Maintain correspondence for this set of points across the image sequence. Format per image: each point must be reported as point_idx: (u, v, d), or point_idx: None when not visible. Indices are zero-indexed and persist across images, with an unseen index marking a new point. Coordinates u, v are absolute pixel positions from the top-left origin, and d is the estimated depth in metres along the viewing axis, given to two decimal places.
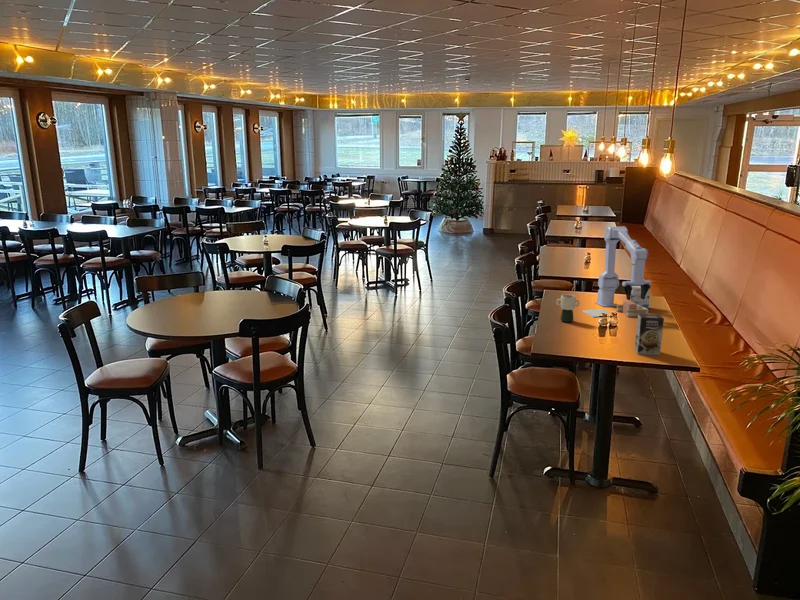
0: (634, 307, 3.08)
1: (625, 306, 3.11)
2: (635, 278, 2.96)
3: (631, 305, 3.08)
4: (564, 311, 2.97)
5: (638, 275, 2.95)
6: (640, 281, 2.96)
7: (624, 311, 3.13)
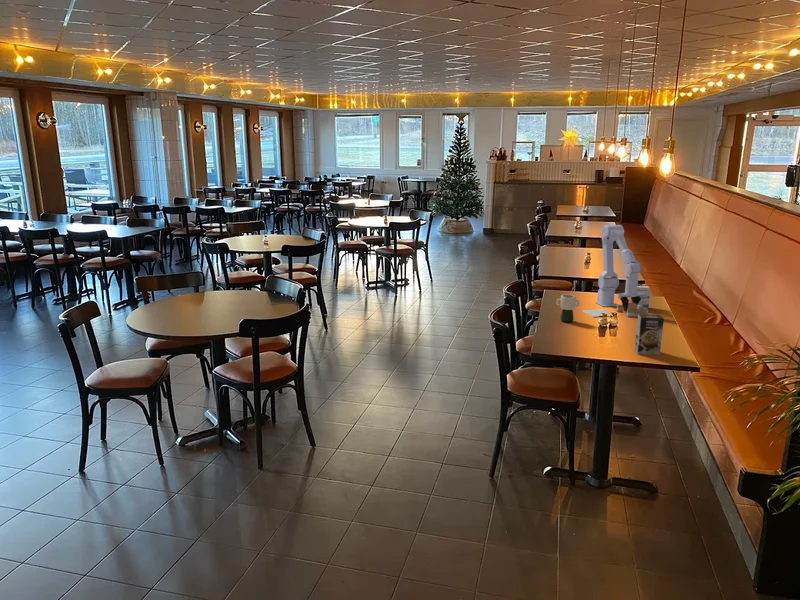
0: (634, 307, 3.08)
1: None
2: (629, 291, 3.07)
3: (631, 305, 3.08)
4: (564, 311, 2.97)
5: (632, 288, 3.06)
6: (634, 293, 3.07)
7: (624, 311, 3.13)
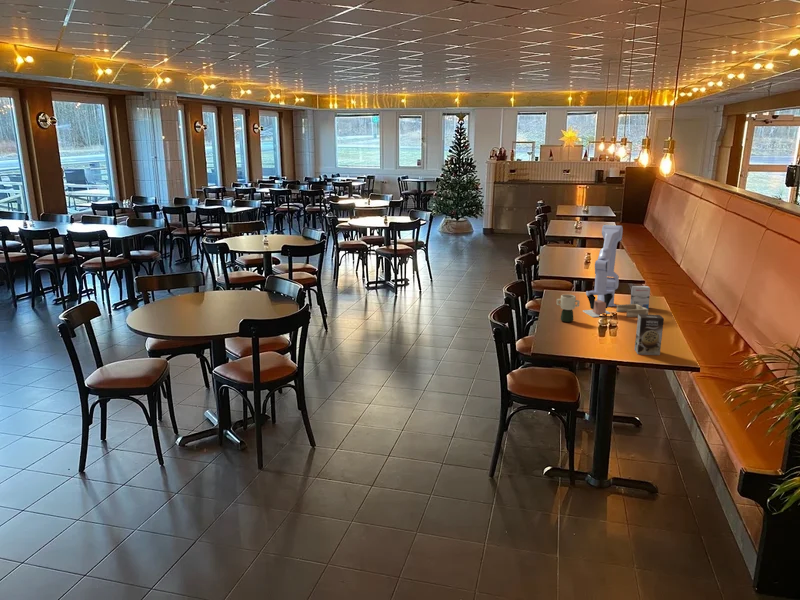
0: (604, 306, 3.08)
1: (595, 305, 3.11)
2: (598, 288, 3.07)
3: (600, 304, 3.08)
4: (564, 311, 2.97)
5: (601, 285, 3.06)
6: (603, 291, 3.07)
7: (594, 310, 3.13)
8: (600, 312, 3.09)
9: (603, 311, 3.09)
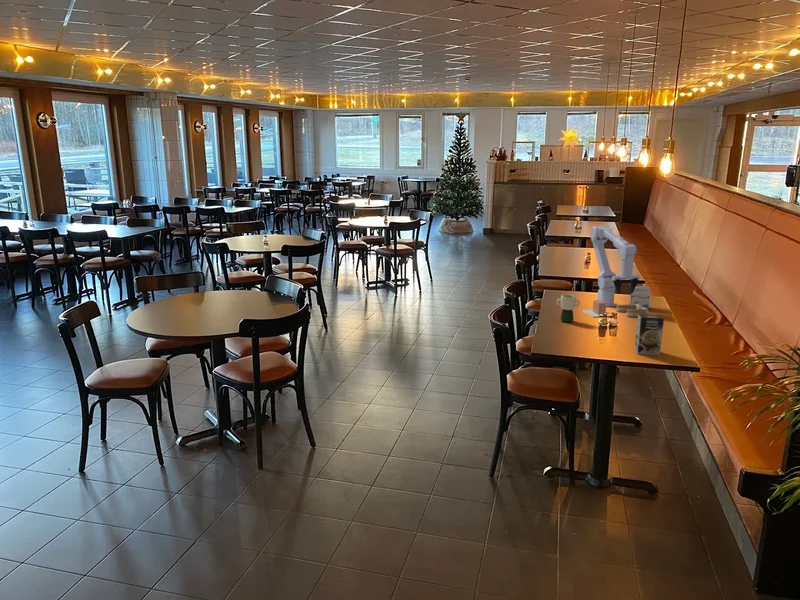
0: (604, 306, 3.08)
1: (595, 305, 3.11)
2: (624, 273, 3.10)
3: (600, 304, 3.08)
4: (564, 311, 2.97)
5: (627, 270, 3.09)
6: (629, 276, 3.09)
7: (594, 310, 3.13)
8: (600, 312, 3.09)
9: (603, 311, 3.09)
